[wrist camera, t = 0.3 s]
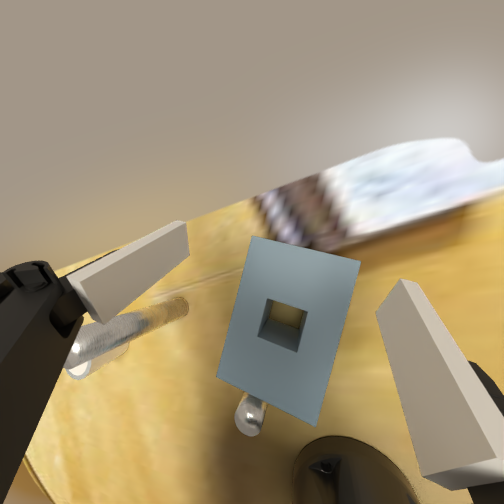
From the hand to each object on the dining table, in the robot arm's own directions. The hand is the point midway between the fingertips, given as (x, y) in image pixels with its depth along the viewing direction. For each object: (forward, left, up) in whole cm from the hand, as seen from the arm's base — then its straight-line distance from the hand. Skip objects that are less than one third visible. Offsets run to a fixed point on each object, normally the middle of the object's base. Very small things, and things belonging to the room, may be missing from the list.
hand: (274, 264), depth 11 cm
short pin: (-20, 0, -16) cm, 26 cm away
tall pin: (-13, +17, -16) cm, 27 cm away
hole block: (-7, -1, -16) cm, 18 cm away
